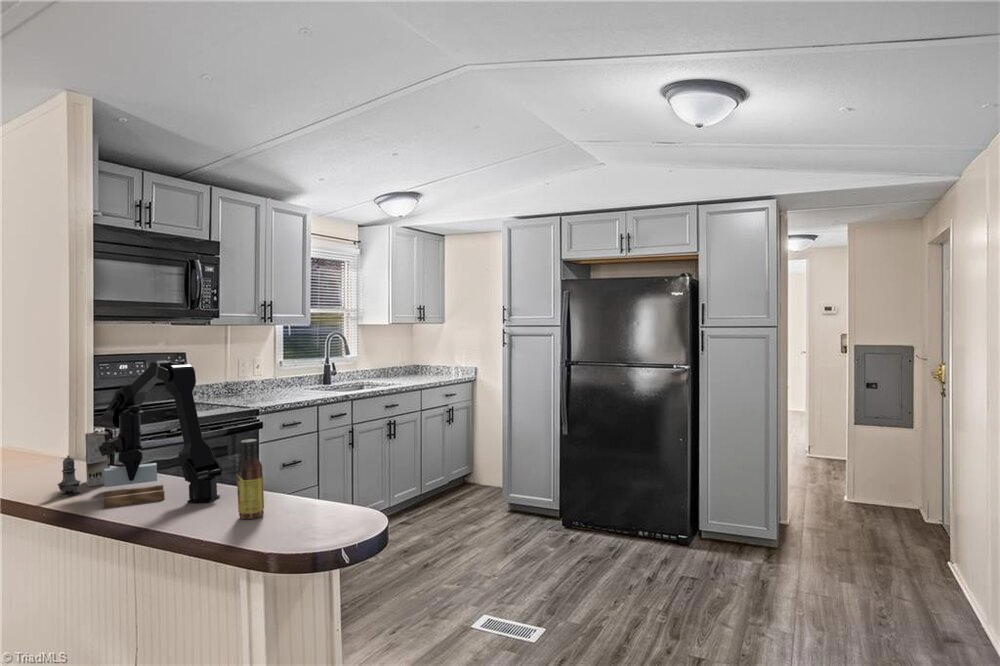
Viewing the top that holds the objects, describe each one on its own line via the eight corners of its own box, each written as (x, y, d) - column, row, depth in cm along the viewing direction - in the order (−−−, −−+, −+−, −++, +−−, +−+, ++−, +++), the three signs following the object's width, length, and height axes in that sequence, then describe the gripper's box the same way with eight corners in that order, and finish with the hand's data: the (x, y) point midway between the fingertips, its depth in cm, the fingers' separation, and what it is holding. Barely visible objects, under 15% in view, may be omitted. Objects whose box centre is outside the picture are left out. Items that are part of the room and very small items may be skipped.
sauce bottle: (244, 513, 170) (242, 438, 170) (268, 513, 170) (266, 437, 169) (233, 520, 163) (231, 442, 163) (258, 520, 163) (256, 441, 163)
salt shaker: (69, 497, 191) (68, 457, 191) (52, 496, 192) (51, 456, 192) (85, 492, 197) (84, 453, 197) (69, 491, 198) (68, 452, 198)
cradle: (163, 492, 194) (163, 484, 194) (164, 499, 186) (164, 490, 186) (104, 500, 187) (104, 491, 186) (103, 507, 179) (103, 498, 179)
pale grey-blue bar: (156, 478, 205) (156, 462, 205) (157, 481, 202) (156, 465, 202) (105, 484, 198) (104, 468, 198) (104, 487, 195) (104, 470, 195)
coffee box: (111, 483, 208) (109, 433, 208) (87, 487, 204) (85, 436, 204) (109, 478, 215) (107, 430, 215) (86, 481, 212) (84, 432, 212)
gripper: (100, 428, 204) (102, 477, 204) (97, 435, 188) (99, 489, 188) (140, 424, 210) (142, 472, 210) (141, 431, 194) (143, 483, 194)
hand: (131, 479), depth 200 cm, fingers closed on pale grey-blue bar, 4 cm apart
